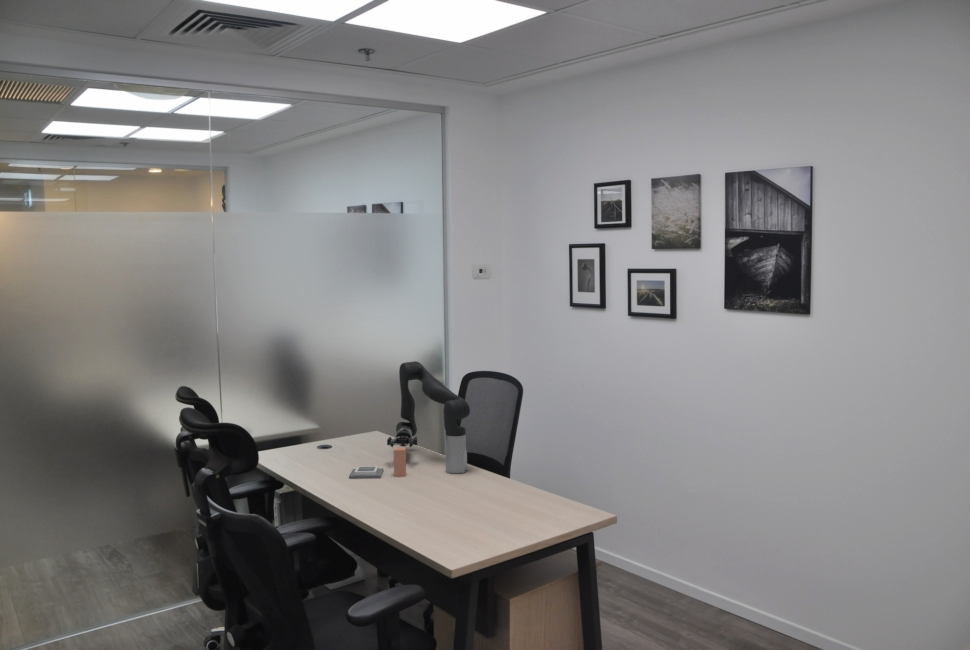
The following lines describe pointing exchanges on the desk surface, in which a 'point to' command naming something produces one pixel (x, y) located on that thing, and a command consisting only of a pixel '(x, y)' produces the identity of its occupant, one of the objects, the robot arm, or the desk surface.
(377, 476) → the baseplate
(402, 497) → the desk surface
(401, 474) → the column
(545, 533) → the desk surface
